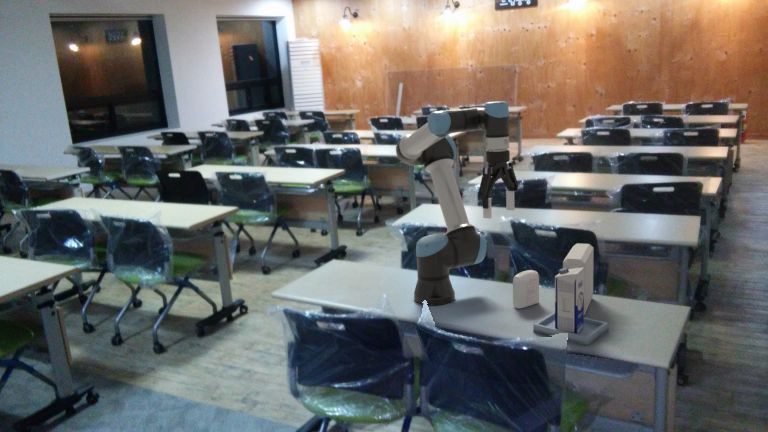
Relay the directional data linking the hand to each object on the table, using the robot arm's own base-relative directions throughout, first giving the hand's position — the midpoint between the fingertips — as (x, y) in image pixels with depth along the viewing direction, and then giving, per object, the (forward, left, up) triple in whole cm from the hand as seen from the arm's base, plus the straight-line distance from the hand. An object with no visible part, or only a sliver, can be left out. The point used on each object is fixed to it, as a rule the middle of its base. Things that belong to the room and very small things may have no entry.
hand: (499, 214), depth 206 cm
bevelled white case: (+18, +19, -35) cm, 44 cm away
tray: (+26, -1, -35) cm, 43 cm away
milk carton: (+26, -3, -34) cm, 43 cm away
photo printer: (+3, +11, -35) cm, 37 cm away
